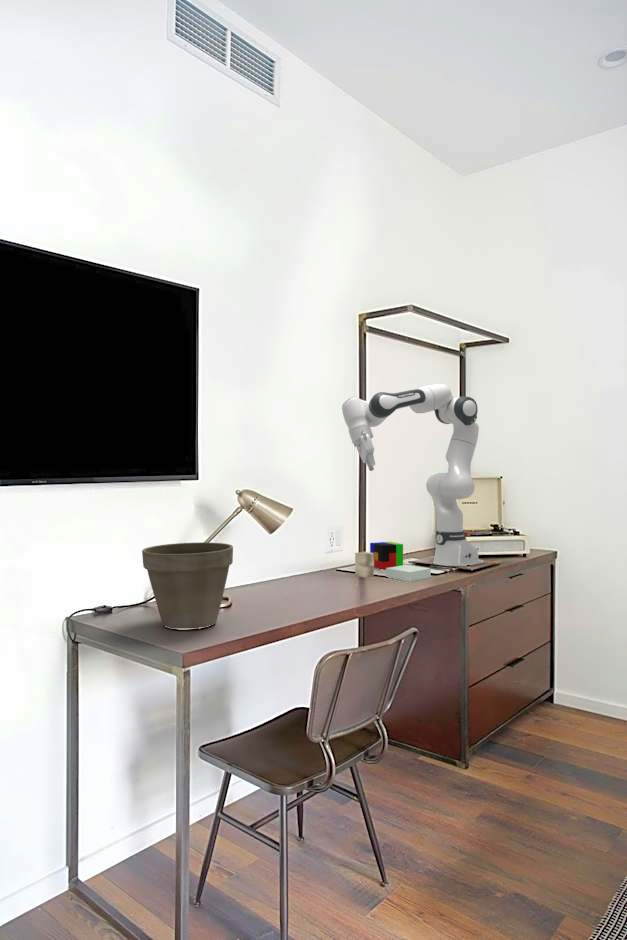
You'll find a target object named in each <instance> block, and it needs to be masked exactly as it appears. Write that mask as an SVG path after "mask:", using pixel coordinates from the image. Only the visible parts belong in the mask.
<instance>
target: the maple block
mask: <svg viewBox="0 0 627 940" xmlns="http://www.w3.org/2000/svg"><path fill="white" fill-rule="evenodd" d="M354 554H355V555H354V556H355V557H354V559H355V560H354V562H355V563H354V567H355V569H354V570H355V573H354V574H355V577H359V578H371V577H374V572H375V571H374V553H370V551H360V552H355V553H354Z"/></svg>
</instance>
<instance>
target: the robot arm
mask: <svg viewBox="0 0 627 940" xmlns="http://www.w3.org/2000/svg"><path fill="white" fill-rule="evenodd" d="M403 408H410V410H411V411H412V412H414V413H415V414H426V413H430V412H433V411H434V414H435V417H436V419H437V421H438V422H440V423H442V424H445V425H450V424H452V426H453V427H452V428H453V432H452V436H451V437H450V441H449V445H448V447H447V450H446V453H445V461H446V462H447V463H448V470H447V472H439V473H435V474H432V475H430V476H429V477H428V478H427V480H426V483H425V486H426V491H427V492H428V493H429V495H430V496H431V498H432V501H433V504H434V507H435V508H434V509H435V514H436V530H435V540H436V543H435V551H434V556H433V557H434V558H433V562H432V564H434V565H438V566H443V567H444V566H445V567H468V566H467V565H470V566H475V565H479V564H484V562H485V561H484V560H483V559H480V558H479V553H478V549H477V548H476V547H475V546H474V545H473V544H472V543H471V542H469V540H467V537H470V536H471V532H470V531H464V514H463V511H462V510H461V509H460V507H459V506H458V503H457V500H464V499H467V498H470V497H471V496H472V495H473V494H474V491H475V482H474V479H473V478H472V473H471V464H472V460H473V458H474V457H473V456H474V453H475V450H476V446H477V443H478V439H479V432H480V430H479V429H480V428H479V424H478V423H477V422H476V421H477V418H478V416H477V415H478V404H477V402H476V400H475V399H474V398H472V397H471V396H466V395H465V396H464V395H463V396H457V397H456V396H455V397H454V396H453V395H452V391H451V388H450V387H449V386H448V385H447V384H445V383H434V384H426V385H424V386H420V387H417V388H415V389H411V390H406V391H405V390H404V391H399V392H395V393H394V392H385V391H384V392H382V391H379V392H377V393H375V394H374V395H373V396H372V398H371V399H370V401H368V400H363V399H361V398H359V397H358V396H353V397H350V398H348V399H347V400H346V401H344V402H343V404H342V406H341V411H342V415H343V418H344V422H345V425H346V426H347V429H348V434H349V436H350V439H351V443H352V444H353V445H354V447H355V448H356V450H357V452H358V455H359V457H360V459H361V461H362V463H363V464H366V466H367V468H368V470H369V472H373V471H374V470H375V469H374V466H376V461H375V456H374V452H375V447H374V444H373V440H372V438H374V434H373V431H372V428H373V427H378V426H379V425H381V424H382V423H383V422H384V421H385V420H387V418H388V417H390V416H391V415H392V414H393V413H394V412H396V410H399V409H403ZM371 427H372V428H371Z"/></svg>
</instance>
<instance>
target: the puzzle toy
mask: <svg viewBox="0 0 627 940" xmlns="http://www.w3.org/2000/svg"><path fill="white" fill-rule="evenodd" d="M369 552H370V553H374V567H375V569H377V568H379V569H378V570H381V569H386V568H390V567H396V566H402V565H404V543H399V542H396V541H395V542H394V541H379V542H370V544H369Z"/></svg>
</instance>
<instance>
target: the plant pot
mask: <svg viewBox="0 0 627 940" xmlns="http://www.w3.org/2000/svg"><path fill="white" fill-rule="evenodd" d="M141 554H142V555H141V556H142V564H143V565H142V566H143V568H144V569H145V570H146V571H147V574H148V575H147V576H148V579H149V582H150V586H151V589H152V593H153V596H154V600H155V603H156V607H157V610H158V615H159V618H160V620H161V621H160V622H161V623H162V626H163V625H164V626H167V627H170V628H199V627H206V626H209V625H212V624H215V625H216V623H217V622H218V618H219V614H220V610H221V605H222V601H223V597H224V593H225V588H226V584H227V579H228V574H229V569H230V566H231V565H232V564H233V562H234V561H233V560H234V547H233V545H231V544H229V543H223V542H179V543H167V544H159V545H154V546H149V547H145V548H143V549H142V550H141ZM164 626H163V627H164Z"/></svg>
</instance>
